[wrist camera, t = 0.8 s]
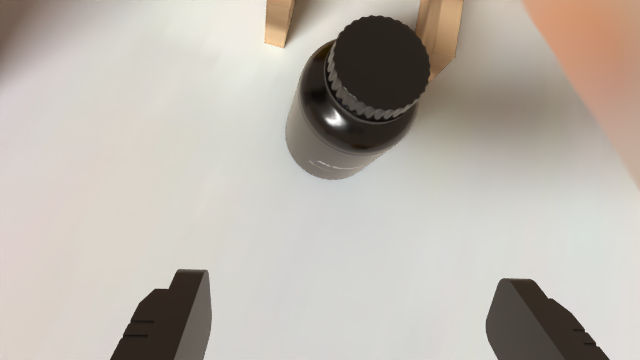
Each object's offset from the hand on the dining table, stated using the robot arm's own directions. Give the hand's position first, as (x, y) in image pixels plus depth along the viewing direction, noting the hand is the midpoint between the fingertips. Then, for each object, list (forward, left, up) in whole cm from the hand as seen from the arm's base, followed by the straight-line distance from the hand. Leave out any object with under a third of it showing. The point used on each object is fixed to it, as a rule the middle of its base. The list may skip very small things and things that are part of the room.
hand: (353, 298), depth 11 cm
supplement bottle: (-1, +10, -17) cm, 20 cm away
